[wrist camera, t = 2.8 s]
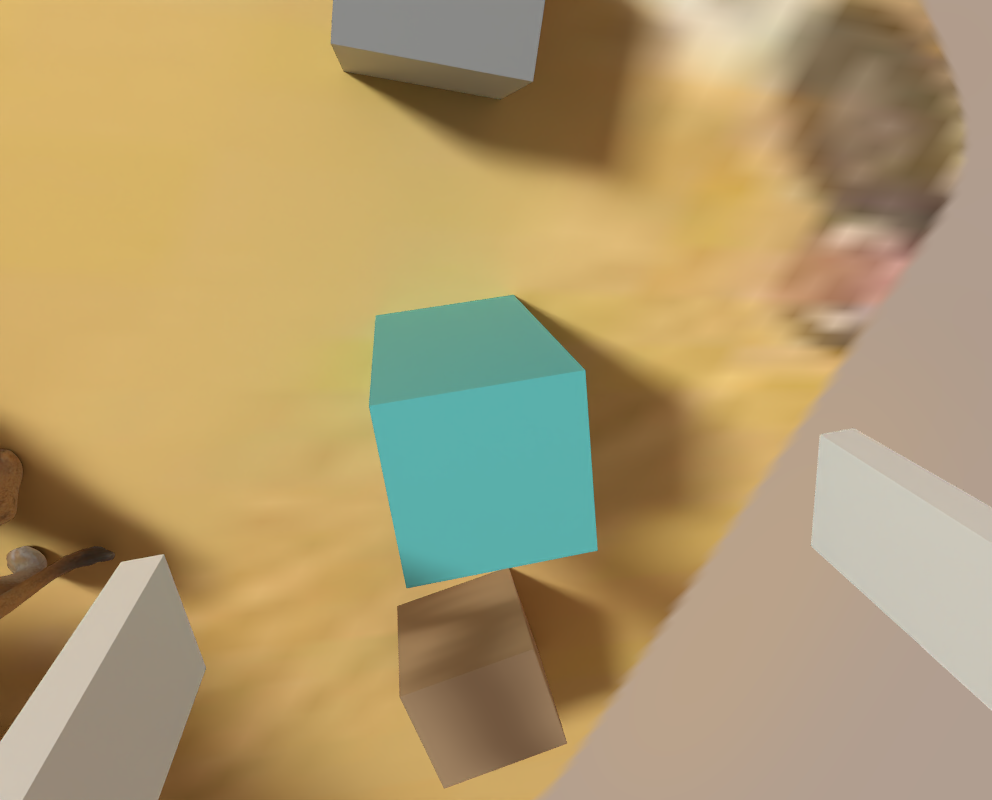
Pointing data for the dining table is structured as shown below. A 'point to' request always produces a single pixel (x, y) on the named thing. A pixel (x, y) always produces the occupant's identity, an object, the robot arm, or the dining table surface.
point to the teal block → (480, 439)
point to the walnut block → (475, 679)
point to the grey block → (441, 42)
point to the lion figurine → (28, 564)
